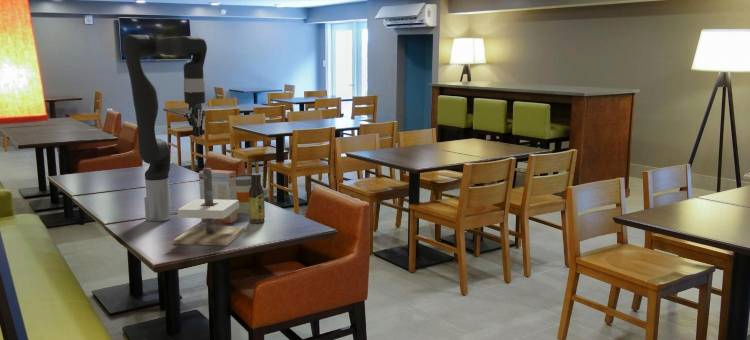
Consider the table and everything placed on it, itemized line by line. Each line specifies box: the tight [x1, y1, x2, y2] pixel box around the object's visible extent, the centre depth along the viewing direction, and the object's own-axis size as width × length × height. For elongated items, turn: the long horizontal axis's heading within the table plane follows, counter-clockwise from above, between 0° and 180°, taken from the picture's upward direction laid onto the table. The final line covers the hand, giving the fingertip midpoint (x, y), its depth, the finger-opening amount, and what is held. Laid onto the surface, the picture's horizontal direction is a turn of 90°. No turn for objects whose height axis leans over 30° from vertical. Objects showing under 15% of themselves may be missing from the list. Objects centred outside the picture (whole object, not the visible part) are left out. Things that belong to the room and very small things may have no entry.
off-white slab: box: [177, 198, 239, 219], centre depth 233 cm, size 17×17×3 cm
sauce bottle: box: [248, 172, 266, 224], centre depth 255 cm, size 7×6×20 cm
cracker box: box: [198, 169, 239, 224], centre depth 257 cm, size 14×6×21 cm, turn 71°
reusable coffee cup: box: [236, 173, 252, 214], centre depth 274 cm, size 13×13×15 cm
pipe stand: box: [173, 167, 246, 246], centre depth 233 cm, size 20×20×26 cm
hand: (196, 136), depth 238 cm, fingers closed
